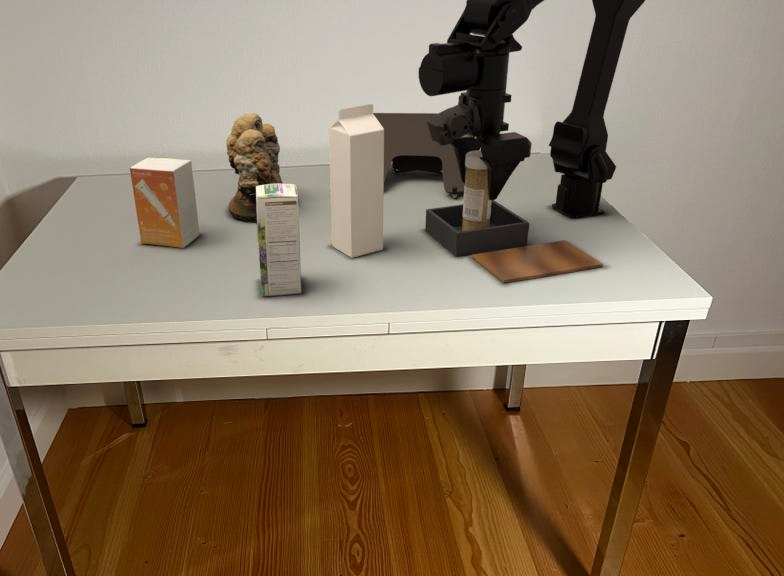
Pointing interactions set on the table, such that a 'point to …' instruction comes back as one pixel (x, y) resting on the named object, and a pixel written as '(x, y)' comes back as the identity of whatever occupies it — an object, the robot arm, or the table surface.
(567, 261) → the brown wooden board
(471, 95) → the robot arm
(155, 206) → the small box
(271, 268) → the syrup box
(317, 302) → the table surface
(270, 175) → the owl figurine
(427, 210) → the bin
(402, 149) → the laptop tray
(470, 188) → the sprinkles bottle
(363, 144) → the milk
